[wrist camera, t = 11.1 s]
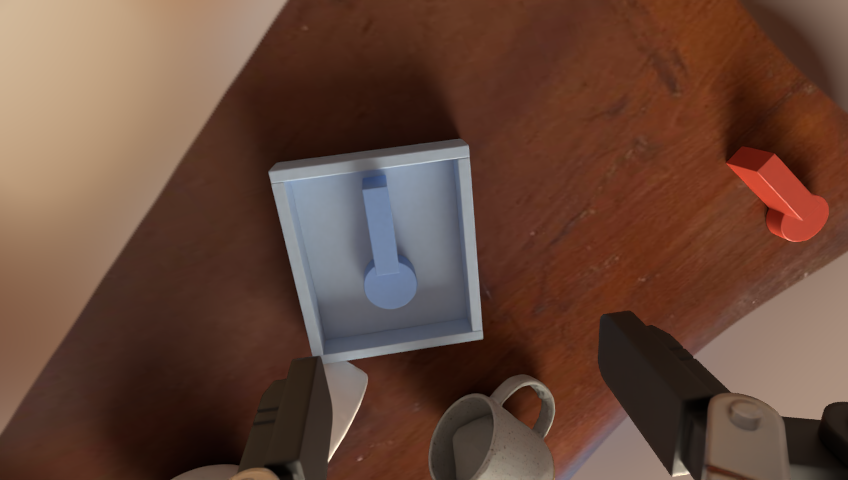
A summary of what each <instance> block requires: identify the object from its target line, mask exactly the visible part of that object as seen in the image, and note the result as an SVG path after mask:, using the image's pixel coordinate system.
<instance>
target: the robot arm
mask: <svg viewBox="0 0 848 480" xmlns="http://www.w3.org/2000/svg"><path fill="white" fill-rule="evenodd" d="M598 363H599V369H600V372H601V375H602V377H603V379H604V381H605V382H606V384H607V385H608V387H609V388H610V390H611V391H612V392H613V394H614V395H615V397H616V398H617V400H618V401H619V402H620V404H621V405H622V407H623V408H624V410H625V411H626V412H627V414H628V415H629V417H630V418H631V420H632V421H633V422H634V424H635V425H636V427H637V428H638V430H639V431H640V432H641V434H642V435H643V437H644V438H645V439H646V441H647V442H648V443H649V445H650V447H651V448H652V449H653V451H654V452H655V454H656V455H657V457H658V458H659V459H660V461H661V462H662V463H663V465H664V467H665V468H666V469H667V471H668V472H669V474H670V475H671V476H672V477H673V476H679V475H685V474H691V476H692V477H693V479H694V480H848V402H836V403H832V404H829V405H828V406H826V407H825V409H824V412H823V415H822V419H821V420H814V419H802V418H791V417H782V416H780V415H779V414H778V412H777V411H776V410H775V409H773V408H772V407H771V406H769V405H768V404H766V403H764V402H763V401H761V400H759V399H756V398H754V397H751V396H747V395H744V394H739V393H731V392H730V391H729V390H728V389H727V388H726V387H725V386H724V385H723V384H722V383H721V382H720V381H719V380H717V379H716V378H715V377H714V376H713V375H712V374H711V373H710V372H709V371H708V370H707V369H706V368H705V367H704V366H703V365H702V364H701V363H700V362H699V361H697V360H696V359H694V358H693V356H692V355H691V354H690V353H689V352H688V351H687V350H686V349H683V346H682V345H681V344H680V343H679V342H678V341H676V340H675V339H674V338H673V337H672V336H671V335H670V334H668V333H666V332H664V331H663V330H661V329H659V328H657V327H655V326H653V325H650V326H646V325H645V324H644V323H643V322H642V321H641V320H640V319H639V318H638V317H637V316H636V315H635V314H634V313H633V312H631V311H622V312H616V313H609V314H603V315H602V316H601V319H600V330H599V350H598ZM257 411H258V413H256V416H255V419H254V422H253V426H252V428H251V431H250V434H249V437H248V441H247V444H246V447H245V450H244V453H243V456H242V459H241V462H240V465H239V468H238V471H237V474H236V475H234V476H232V477H231V478H229V479H228V480H326V476H327V467H328V458H329V450H330V441H331V432H332V423H333V409H332V401H331V396H330V392H329V387H328V383H327V379H326V375H325V370H324V366H323V362H322V359H321V357H320V356H312V357H305V358H299V359H293V360H292V362H291V365H290V369H289V372H288V376H287V379H283V380H277V381H274V382H273V383H272V384H271V385H270V387H269V388H268V389H267V390H266V391H265V393H264V394H263V395H262V398H261V401H260V404H259V407H258V410H257Z"/></svg>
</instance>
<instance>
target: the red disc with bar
mask: <svg viewBox="0 0 848 480" xmlns="http://www.w3.org/2000/svg"><path fill="white" fill-rule="evenodd" d="M726 164H727V165H728V166H729V167H730V168H731V169H732V170H733V171H734V172H735V173H736V174H737V175H738V176H739V177H740V178H741V179H742V180H743V181H744V182H745V183H746V184H747V186H748V187H749V188H750V189H751V190H752V191H753V192H754V193H755V194H756V195H757V196H758V197H759V198H760V199H761V200H762V201H763V202H764V203H765V204H766V205H767V206H768V207H769V210H768V212H767V216H766V224H767V227H768V229H769V230H770V231H771V232H772V233H773V234H775V235H778V236H780V237H782V238H785V239H787V240H790V241H793V242H799V241H804V240H807V239H809V238H811V237H813V236H814V235H815V234H817V233H818V232H819V231H820V230H821V228H822V227H823V226H824V224H825V222H826V220H827V217H828V213H829V207H828V204H827V202H826V200H825V199H824V198H823V197H821V196H819V195H816V194H813V193H810V192H809V191H808V190H807V189H806V188H805V186H804V185H803V184H802V183H801V182H800V181H799V180H798V179H797V177H796V176H795V175H794V174H793V173H792V172H791V171H790V170H789V169H788V167H787V166H786V165H785V164H784V163H783V162H782V161H781V160H780V158H779V157H778V156H777V155H776V154H775V153H771V152H766V151H762V150H758V149H753V148H749V147H745V146H742V147H741V148H740V149H739V150H738V151H737V152H736V153H735V154H734V155H733V156H732V157H731V158H730V159H729V160H728V161H727V162H726Z"/></svg>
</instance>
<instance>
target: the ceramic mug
mask: <svg viewBox="0 0 848 480" xmlns="http://www.w3.org/2000/svg"><path fill="white" fill-rule="evenodd" d="M528 385H530V386H531V387H532V388H533V389H534V390H535V391H536V392H537V395H538V397H539V398H541V399H542V406H541V411H540V414H539V418H538V419H537V422H536V423H535V425H534V427H533V429H532V430H531V429H530V428H529V427H528V426H526V425H525V424H524V423H523V422H520V421H519V420H517V419H516V418H515V417H514V416H513V415H512V414H510V413H509V412H508V411H507V410H505V409H504V408H503V407H502V405H503V403H504V401H505V400H506V399H508V398H509V397H510V396H511V395H512V394H513V393H514V392H515V391H516V390H518V389H519V388H521V387H523V386H528ZM554 415H555V404H554V399H553V396H552V394H551V392H550V390H549V389H548V388H547V387H546V386H545V385H544V384H543V383H542V382H540V381H539V380H537V379H535V378H533V377H531V376H529V375H523V374H522V375H516V376H512V377H511V378H508V379H507V380H505V381H504V382H503V383H502V384H501V385H500V386H499V387H498V388H497V389H496V390H495V391H494V392H493V394H492V395H491V396H490V397H487V396H485V395H483V394H478V393H474V394H469V395H466V396H464V397H462V398H460V399H459V400H457V401H456V402H455V403H453V404H452V405H451V406H450V407H449V408H448V409H447V411H446V412H445V413H444V414H443V416H442V417H441V419H440V420H439V422H438V424H437V426H436V429H435V431H434V433H433V436H432V439H431V443H430V448H429V470H430V474H431V477H432V479H433V480H554V478H555V468H554V460H553V457H552V454H551V452H550V450H549V448H548V447H547V445H546V444H545V443H544V437H545V436H546V435H547V433H548V431H549V429H550V427H551V425H552V422H553V418H554Z"/></svg>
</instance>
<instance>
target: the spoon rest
mask: <svg viewBox="0 0 848 480" xmlns="http://www.w3.org/2000/svg"><path fill="white" fill-rule="evenodd" d="M323 366H324V370H325V375H326V379H327V383H328V387H329V392H330V396H331V401H332V409H333V423H332V432H331V441H330V450H329V458H328V462H329V460H330V459H331V457H332V456H333V454H334V452H335V450H336V449H337V447H338V446H339V444H340V442H341V441H342V439H343V437H344V436H345V434H346V432H347V430H348V428H349V426H350V425H351V423H352V421H353V419H354V417H355V415H356V413H357V410H358V408H359V406H360V404H361V402H362V399H363V396H364V393H365V390H366V386H367V381H368V376H367V374H366V373H365V372H363V371H362V370H360V369H359V368H357V367H355V366H354V365H352V364H350V363H348V362H347V361H340V362H334V363H328V364H323ZM238 468H239V466H238V465H232V464H220V465H210V466H205V467H200V468H197V469H193V470H190V471H188V472H185V473H183V474H181V475H179V476H176V477H175V478H173V479H171V480H228V479H229V478H231V477H232V476H234V475H236V474H237V471H238Z"/></svg>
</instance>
